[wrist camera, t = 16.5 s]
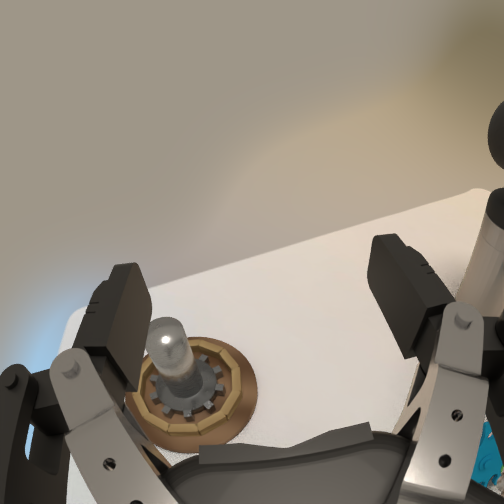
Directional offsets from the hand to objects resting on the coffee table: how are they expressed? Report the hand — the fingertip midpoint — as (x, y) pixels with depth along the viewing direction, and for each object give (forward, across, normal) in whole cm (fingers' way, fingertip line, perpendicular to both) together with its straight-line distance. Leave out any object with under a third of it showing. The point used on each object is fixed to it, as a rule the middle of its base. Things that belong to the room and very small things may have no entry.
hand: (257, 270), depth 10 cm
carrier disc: (+12, +10, +28) cm, 32 cm away
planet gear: (+12, +9, +27) cm, 31 cm away
